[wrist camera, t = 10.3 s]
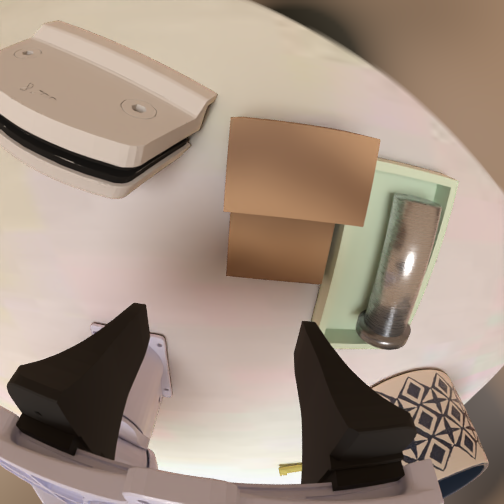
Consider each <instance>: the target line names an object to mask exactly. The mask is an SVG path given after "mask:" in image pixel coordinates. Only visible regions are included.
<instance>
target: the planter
mask: <svg viewBox="0 0 504 504" xmlns="http://www.w3.org/2000/svg"><path fill="white" fill-rule="evenodd" d="M372 389H373V390H374V391H375V392H376V393H378V394H379V395H381V396H382V397H383V398H385V399H386V400H388V401H390V402H391V403H393V404H394V405H396V406H398V407H400V408H402V409H404V410H405V411H407V412H409V413H410V414H411V416H412V418H413V421H414V424H415V427H416V430H417V434H416V437H415V438H414V440H413V441H412V442H411V443H410V444H409V445H408V446H407V447H406V448H405V449H404V450H403V451H402V452H403V455H404V459H403V460H402V461H401V462H402V466H405V465H407V464H410V463H413V462H417V461H421V460H425V459H431V461H432V464H433V467H434V470H435V473H436V476H437V480H438V483H439V486H440V490H441V493H442V497H443V499H444V498H446V497H447V496H449V495H451V494H453V493H455V492H456V491H458V490H460V489H461V488H463V487H465V486H466V485H468V484H469V483H470V482H472V481H473V480H475V479H476V478H477V477H478V476H480V475H481V474H482V473H483V472H484V471H485V470H486V468H487V467H488V460H487V457H486V455H485V452H484V450H483V447H482V445H481V443H480V440H479V438H478V436H477V433H476V431H475V429H474V427H473V424H472V422H471V420H470V418H469V416H468V414H467V412H466V409H465V407H464V405H463V403H462V401H461V399H460V397H459V395H458V393H457V391H456V389H455V388H454V386H453V384H452V382H451V380H450V378H449V377H448V376H447V375H446V374H445V373H443V372H441V371H438V370H419V371H413V372H409V373H405V374H402V375H399V376H397V377H394V378H391V379H389V380H387V381H385V382H383V383H381V384H379V385H377V386H375V387H373V388H372Z"/></svg>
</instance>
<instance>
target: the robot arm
mask: <svg viewBox="0 0 504 504" xmlns="http://www.w3.org/2000/svg"><path fill="white" fill-rule="evenodd" d="M90 329H91V333H92V336H90V337H89V338H87V339H86V340H84V341H82V342H80V343H79V344H77V345H75V346H73V347H71V348H69V349H67V350H65V351H63V352H61V353H59V354H56V355H54V356H51V357H49V358H46V359H43V360H40V361H37V362H33V363H29V364H25V365H20V366H19V367H18V369H17V370H16V372H15V373H14V375H13V376H12V378H11V379H10V381H9V382H8V384H7V389H8V393H9V394H10V396H11V398H12V399H13V401H14V402H15V404H16V405H17V406H18V408H19V409H20V411H21V412H22V414H21V416H20V418H19V417H18V416H17V415H16V414H14V413H13V412H11V411H9V410H7V409H5V408H3V407H2V406H0V465H1V466H3V467H4V468H5V469H6V470H8V471H10V472H11V473H13V474H15V475H16V476H18V477H19V478H21V479H23V480H24V481H26V482H28V483H29V484H31V485H32V487H33V488H34V490H35V492H36V493H37V495H38V496H39V498H40V499H41V501H42V504H443V503H444V501H443V497H442V493H441V490H440V486H439V483H438V480H437V476H436V473H435V470H434V467H433V464H432V461H431V459H425V460H421V461H417V462H413V463H410V464H407V465H405V466H402V462H401V461H402V460H403V459H404V455H403V452H402V451H403V450H404V449H405V448H406V447H407V446H408V445H409V444H410V443H411V442H412V441H413V440H414V438H415V437H416V434H417V430H416V427H415V424H414V421H413V418H412V416H411V414H410V413H409V412H407V411H405V410H404V409H402V408H400V407H398V406H396V405H394V404H393V403H391V402H390V401H388V400H386V399H385V398H383V397H382V396H381V395H379V394H378V393H376V392H375V391H374V390H373V389H371V388H370V387H369V386H368V385H366V384H365V383H364V382H363V381H362V380H361V379H360V378H359V377H358V376H357V375H356V374H355V373H354V372H353V371H352V370H351V369H350V368H349V367H348V366H347V365H346V364H345V362H344V361H343V360H342V359H341V358H340V356H339V355H338V354H337V352H336V351H335V350H334V348H333V347H332V346H331V344H330V343H329V341H328V340H327V339H326V337H325V336H324V334H323V333H322V331H321V330H320V328H319V327H318V325H317V324H316V322H310V321H302V324H301V328H300V332H299V336H298V340H297V343H296V347H295V351H294V367H295V377H296V383H297V390H298V396H299V402H300V408H301V417H302V479H301V484H285V485H274V484H245V483H231V482H227V481H222V480H217V479H211V478H203V477H196V476H189V475H183V474H177V473H172V472H166V471H161V470H158V465H157V461H156V457H155V454H154V452H153V451H152V450H150V449H148V444H149V441H150V438H151V436H152V433H153V430H154V426H155V423H156V419H157V415H158V412H159V408H160V405H161V401H162V398H163V396H164V397H171V396H172V388H171V381H170V374H169V367H168V360H167V352H166V344H165V338H164V337H162V336H160V335H154V334H150V331H149V324H148V317H147V309H146V305H145V304H138V303H133V304H132V305H131V306H129V307H128V308H127V309H126V310H124V311H123V312H122V313H121V314H119V315H118V316H117V317H116V318H115V319H113V320H112V321H111V322H109V323H108V324H107V325H106V326H105V325H100V324H95V323H93V324H91V326H90ZM95 331H96V332H95ZM159 343H160V344H161V345H160V344H159Z"/></svg>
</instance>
